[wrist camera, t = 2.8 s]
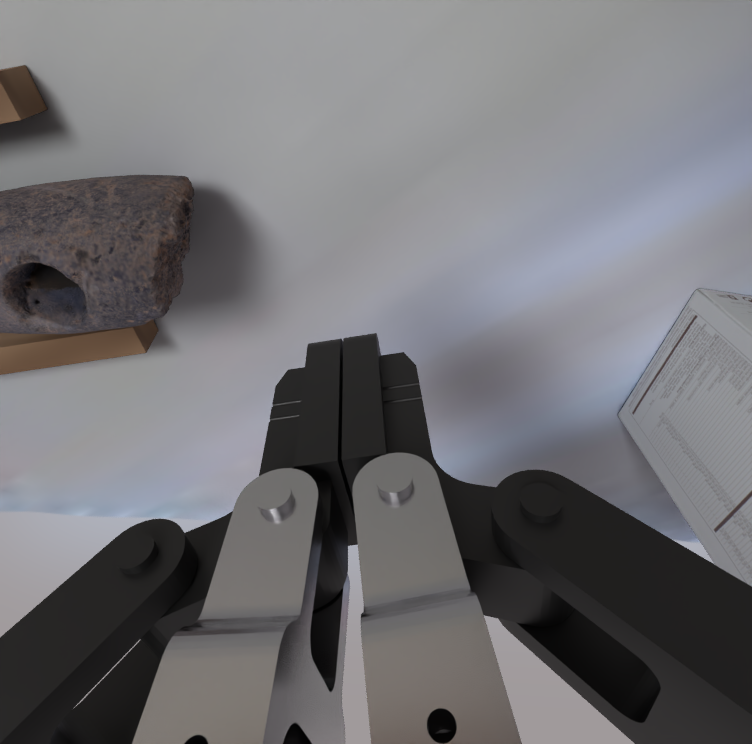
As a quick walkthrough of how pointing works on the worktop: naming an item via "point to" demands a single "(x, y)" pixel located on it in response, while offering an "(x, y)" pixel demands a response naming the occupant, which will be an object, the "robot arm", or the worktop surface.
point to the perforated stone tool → (92, 252)
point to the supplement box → (703, 423)
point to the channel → (35, 351)
